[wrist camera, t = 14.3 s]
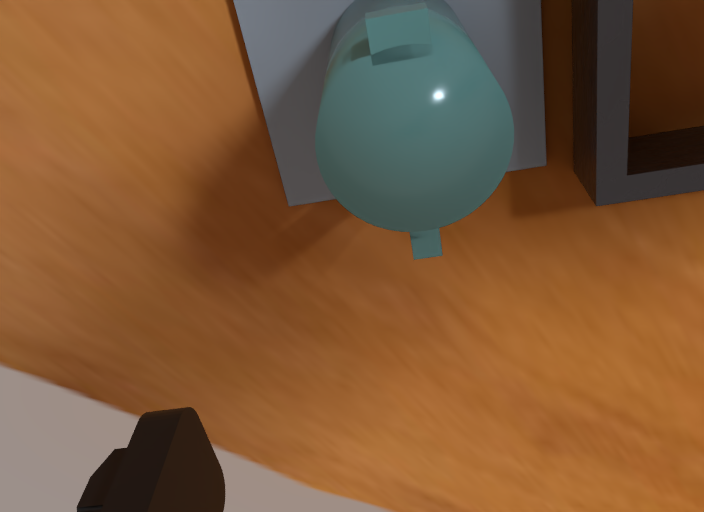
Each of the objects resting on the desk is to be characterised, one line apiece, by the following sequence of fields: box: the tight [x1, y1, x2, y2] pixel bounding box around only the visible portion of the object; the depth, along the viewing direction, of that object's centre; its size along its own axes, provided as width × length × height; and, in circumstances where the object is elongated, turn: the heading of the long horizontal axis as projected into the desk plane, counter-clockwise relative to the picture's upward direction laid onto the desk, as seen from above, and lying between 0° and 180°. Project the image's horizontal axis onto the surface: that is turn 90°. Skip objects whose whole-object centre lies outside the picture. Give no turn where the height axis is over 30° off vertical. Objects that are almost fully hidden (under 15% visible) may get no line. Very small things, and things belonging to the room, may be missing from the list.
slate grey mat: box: [233, 0, 546, 206], centre depth 27 cm, size 12×12×1 cm
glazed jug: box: [315, 0, 514, 260], centre depth 23 cm, size 9×6×10 cm, turn 10°
